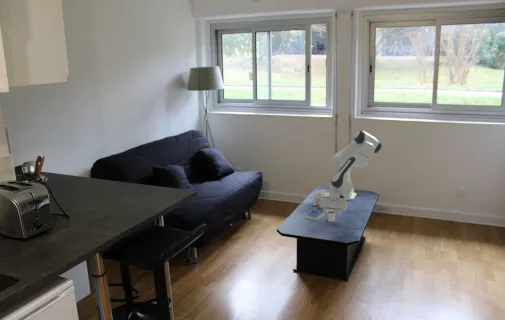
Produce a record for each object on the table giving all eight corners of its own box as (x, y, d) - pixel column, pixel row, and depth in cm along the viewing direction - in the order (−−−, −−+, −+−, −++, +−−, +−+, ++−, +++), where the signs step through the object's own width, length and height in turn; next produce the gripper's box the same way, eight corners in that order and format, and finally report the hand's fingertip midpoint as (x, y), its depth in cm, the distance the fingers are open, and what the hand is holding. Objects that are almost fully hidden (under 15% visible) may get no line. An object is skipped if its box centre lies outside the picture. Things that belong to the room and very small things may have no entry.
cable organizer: (322, 209, 353) (322, 195, 351) (312, 206, 361) (312, 192, 358) (334, 204, 363) (334, 191, 360) (324, 201, 371) (324, 188, 368)
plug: (329, 219, 334) (329, 208, 332) (334, 219, 333) (334, 209, 331) (328, 221, 331) (328, 210, 329) (333, 221, 329) (333, 211, 327)
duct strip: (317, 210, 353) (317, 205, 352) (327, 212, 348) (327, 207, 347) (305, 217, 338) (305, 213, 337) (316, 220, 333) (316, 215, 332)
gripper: (319, 194, 337) (317, 211, 331) (347, 196, 331) (345, 214, 324) (321, 198, 343) (318, 214, 336) (348, 200, 336) (346, 217, 329)
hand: (331, 214), depth 330 cm, fingers open, 8 cm apart
